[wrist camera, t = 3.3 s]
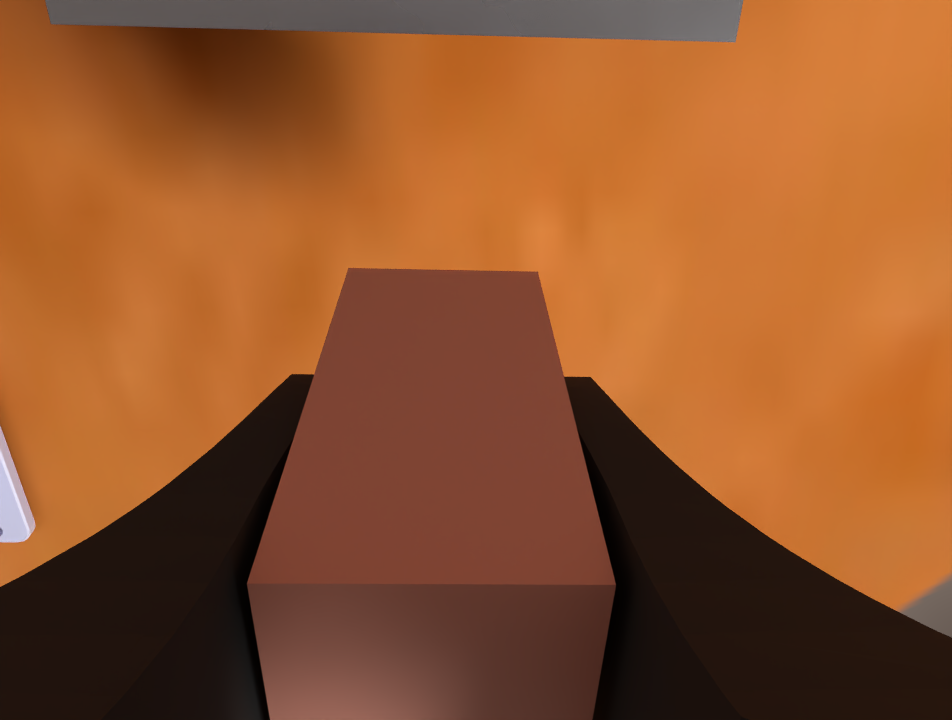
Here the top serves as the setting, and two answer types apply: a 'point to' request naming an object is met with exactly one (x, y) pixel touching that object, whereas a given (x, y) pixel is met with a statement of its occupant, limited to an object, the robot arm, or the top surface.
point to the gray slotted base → (425, 16)
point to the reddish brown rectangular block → (434, 515)
